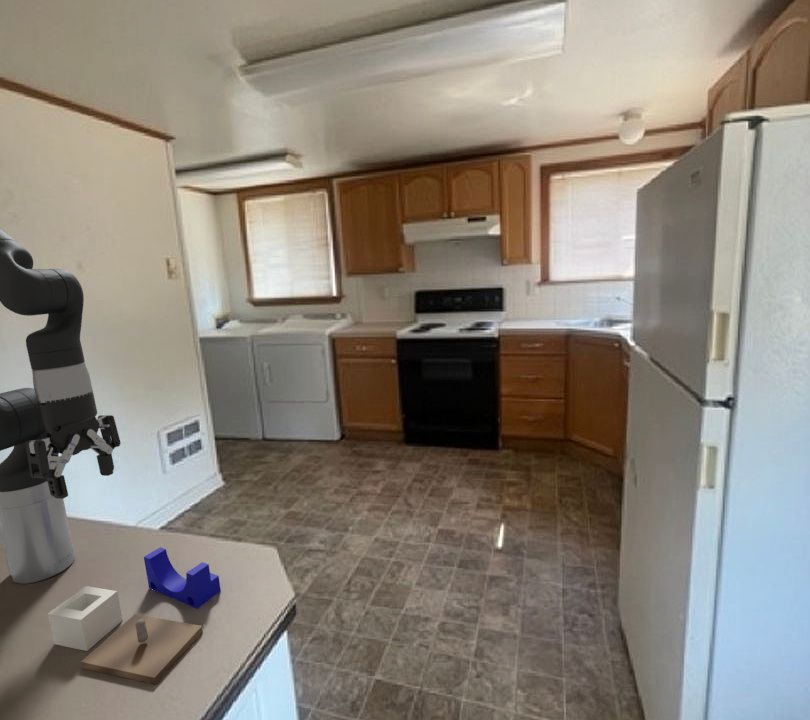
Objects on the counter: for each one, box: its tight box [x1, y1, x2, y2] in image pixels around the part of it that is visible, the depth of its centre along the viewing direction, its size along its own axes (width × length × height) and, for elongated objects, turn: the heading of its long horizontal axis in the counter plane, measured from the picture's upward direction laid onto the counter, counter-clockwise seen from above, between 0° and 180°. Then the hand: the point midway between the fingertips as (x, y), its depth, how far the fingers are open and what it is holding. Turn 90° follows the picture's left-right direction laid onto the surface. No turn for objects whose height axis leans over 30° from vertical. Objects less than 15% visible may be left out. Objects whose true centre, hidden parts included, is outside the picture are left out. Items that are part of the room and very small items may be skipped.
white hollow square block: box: [47, 585, 124, 652], centre depth 69 cm, size 6×6×5 cm
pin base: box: [80, 613, 203, 685], centre depth 65 cm, size 12×9×5 cm
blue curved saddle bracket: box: [143, 547, 222, 610], centre depth 77 cm, size 12×4×6 cm, turn 62°
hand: (85, 485), depth 79 cm, fingers open, 8 cm apart
